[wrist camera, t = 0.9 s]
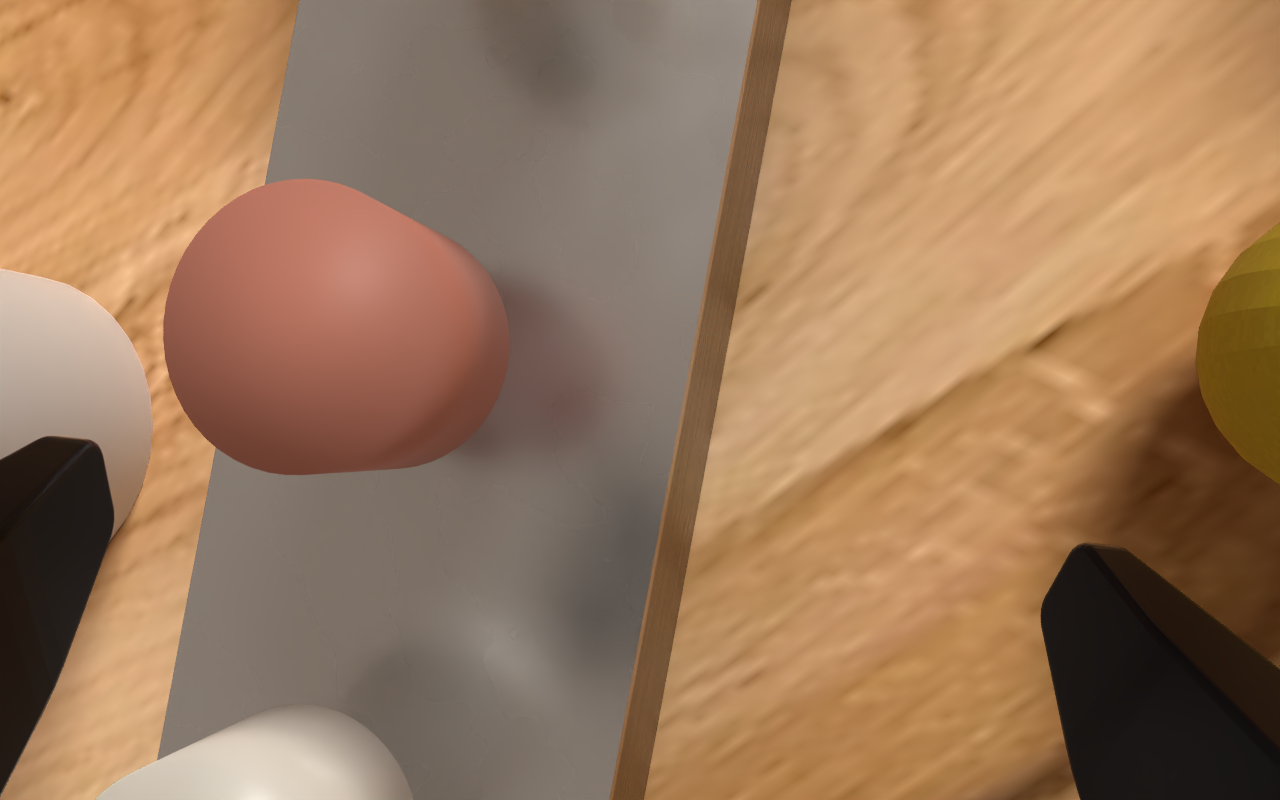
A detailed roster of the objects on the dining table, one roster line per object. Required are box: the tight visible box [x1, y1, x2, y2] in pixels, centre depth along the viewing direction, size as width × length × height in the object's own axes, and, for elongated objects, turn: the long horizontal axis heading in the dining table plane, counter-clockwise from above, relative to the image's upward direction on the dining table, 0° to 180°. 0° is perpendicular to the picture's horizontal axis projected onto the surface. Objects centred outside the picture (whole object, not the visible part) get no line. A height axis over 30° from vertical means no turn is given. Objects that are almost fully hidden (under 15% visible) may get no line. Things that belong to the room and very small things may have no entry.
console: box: [157, 0, 791, 800], centre depth 21 cm, size 21×9×5 cm, turn 169°
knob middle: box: [163, 179, 509, 475], centre depth 15 cm, size 4×4×3 cm
